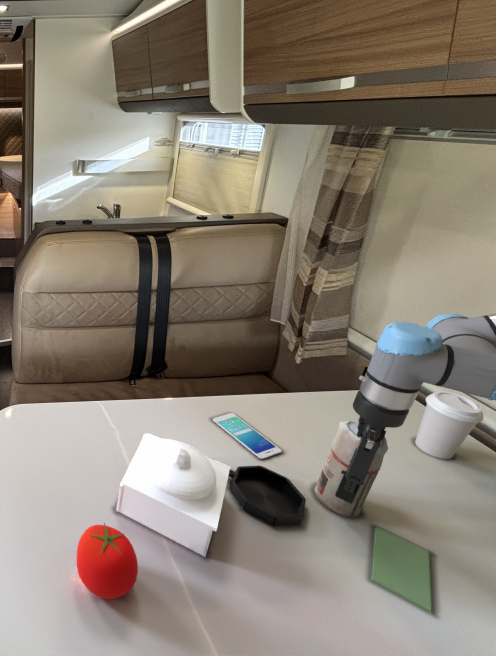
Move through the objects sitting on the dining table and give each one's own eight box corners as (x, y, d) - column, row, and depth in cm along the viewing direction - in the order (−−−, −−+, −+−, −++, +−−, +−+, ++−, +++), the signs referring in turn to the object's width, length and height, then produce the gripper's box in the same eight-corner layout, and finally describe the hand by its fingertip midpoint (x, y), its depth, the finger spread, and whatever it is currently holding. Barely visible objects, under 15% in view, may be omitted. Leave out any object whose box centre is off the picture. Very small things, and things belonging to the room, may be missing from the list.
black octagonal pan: (305, 497, 93) (309, 486, 92) (294, 539, 85) (299, 528, 83) (200, 447, 107) (203, 437, 106) (182, 479, 98) (184, 468, 97)
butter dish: (140, 459, 104) (148, 407, 98) (222, 495, 94) (237, 440, 88) (115, 512, 91) (123, 455, 85) (207, 561, 81) (224, 501, 75)
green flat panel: (428, 555, 81) (430, 551, 81) (431, 616, 72) (434, 612, 72) (373, 529, 87) (375, 525, 86) (370, 582, 77) (371, 579, 77)
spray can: (321, 477, 98) (346, 410, 90) (366, 502, 92) (397, 432, 83) (306, 498, 93) (331, 429, 85) (353, 526, 87) (384, 454, 79)
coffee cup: (458, 472, 99) (486, 421, 94) (403, 449, 106) (426, 400, 100) (461, 451, 105) (487, 402, 99) (409, 430, 112) (431, 383, 106)
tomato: (138, 617, 72) (146, 575, 68) (75, 605, 74) (79, 564, 70) (129, 556, 82) (136, 517, 78) (73, 547, 84) (77, 508, 80)
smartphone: (232, 412, 118) (283, 451, 105) (231, 414, 118) (282, 453, 105) (211, 418, 115) (261, 459, 102) (210, 421, 116) (260, 461, 103)
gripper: (362, 367, 91) (330, 447, 99) (353, 418, 76) (316, 507, 85) (410, 381, 86) (372, 465, 95) (409, 439, 72) (364, 531, 80)
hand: (345, 485), depth 90 cm, fingers closed on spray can, 8 cm apart
